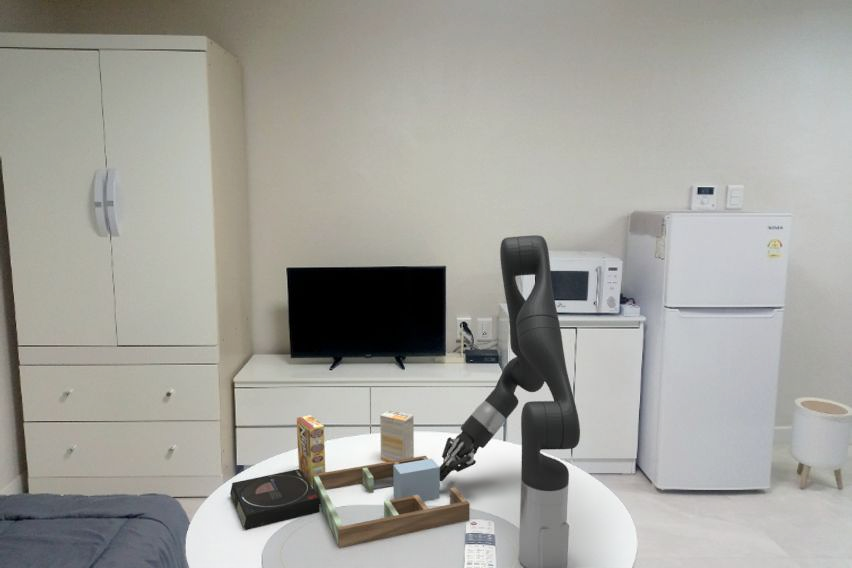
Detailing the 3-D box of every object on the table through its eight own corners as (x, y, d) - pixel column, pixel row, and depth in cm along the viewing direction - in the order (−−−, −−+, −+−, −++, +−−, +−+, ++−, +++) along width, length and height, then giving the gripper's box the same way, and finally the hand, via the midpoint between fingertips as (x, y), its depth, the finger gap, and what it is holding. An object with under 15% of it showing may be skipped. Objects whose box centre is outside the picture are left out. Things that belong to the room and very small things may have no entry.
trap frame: (469, 519, 141) (469, 503, 140) (339, 547, 130) (339, 530, 129) (425, 469, 165) (425, 455, 165) (312, 489, 154) (312, 474, 153)
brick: (439, 498, 150) (439, 467, 149) (400, 505, 147) (400, 473, 145) (431, 488, 155) (431, 458, 154) (393, 495, 151) (393, 464, 150)
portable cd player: (230, 498, 150) (229, 483, 150) (299, 483, 158) (299, 468, 158) (244, 532, 136) (243, 515, 135) (319, 513, 144) (319, 497, 143)
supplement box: (414, 460, 171) (414, 414, 169) (404, 467, 167) (404, 420, 165) (390, 453, 175) (389, 408, 173) (379, 459, 171) (379, 414, 169)
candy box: (326, 482, 158) (325, 425, 155) (310, 487, 155) (309, 428, 153) (312, 469, 165) (311, 414, 163) (297, 473, 163) (295, 417, 160)
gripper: (462, 406, 159) (417, 458, 157) (486, 424, 147) (438, 482, 145) (480, 423, 162) (437, 475, 160) (505, 442, 150) (458, 499, 148)
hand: (437, 478), depth 152 cm, fingers closed
